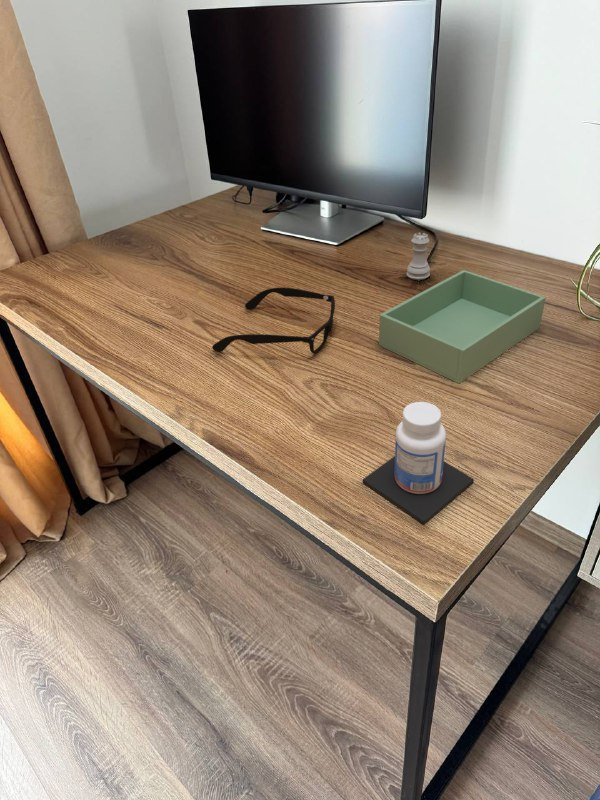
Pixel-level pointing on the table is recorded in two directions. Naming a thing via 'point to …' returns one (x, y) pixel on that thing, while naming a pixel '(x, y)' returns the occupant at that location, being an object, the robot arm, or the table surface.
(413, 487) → the pill bottle
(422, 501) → the mat
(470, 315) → the tote
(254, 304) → the glasses
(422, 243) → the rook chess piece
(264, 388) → the table surface
